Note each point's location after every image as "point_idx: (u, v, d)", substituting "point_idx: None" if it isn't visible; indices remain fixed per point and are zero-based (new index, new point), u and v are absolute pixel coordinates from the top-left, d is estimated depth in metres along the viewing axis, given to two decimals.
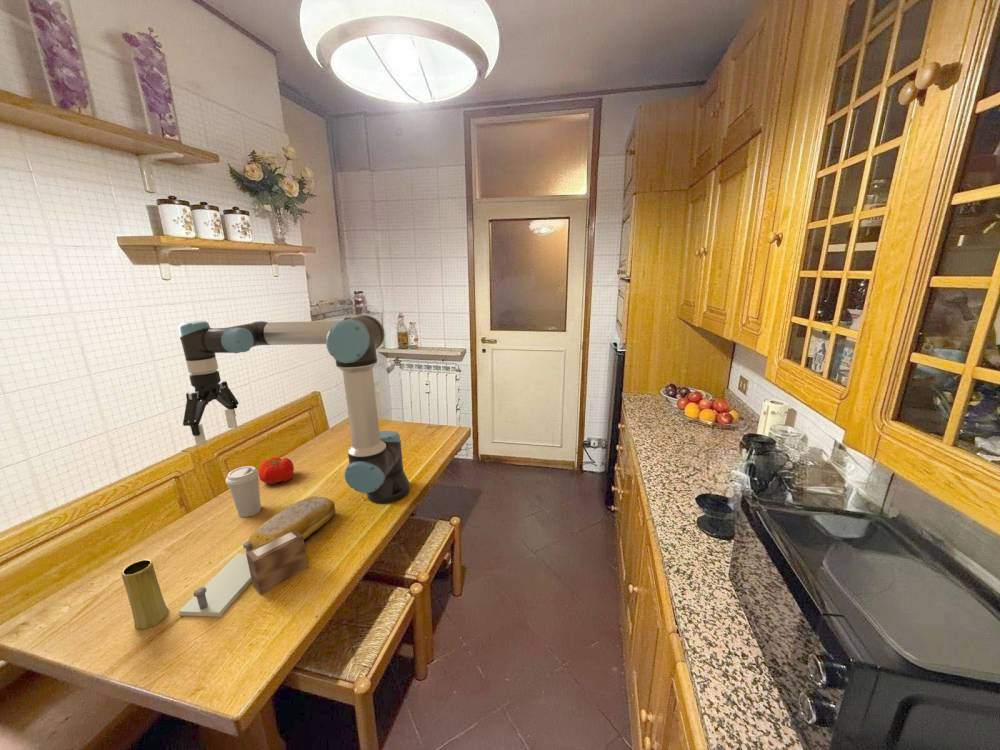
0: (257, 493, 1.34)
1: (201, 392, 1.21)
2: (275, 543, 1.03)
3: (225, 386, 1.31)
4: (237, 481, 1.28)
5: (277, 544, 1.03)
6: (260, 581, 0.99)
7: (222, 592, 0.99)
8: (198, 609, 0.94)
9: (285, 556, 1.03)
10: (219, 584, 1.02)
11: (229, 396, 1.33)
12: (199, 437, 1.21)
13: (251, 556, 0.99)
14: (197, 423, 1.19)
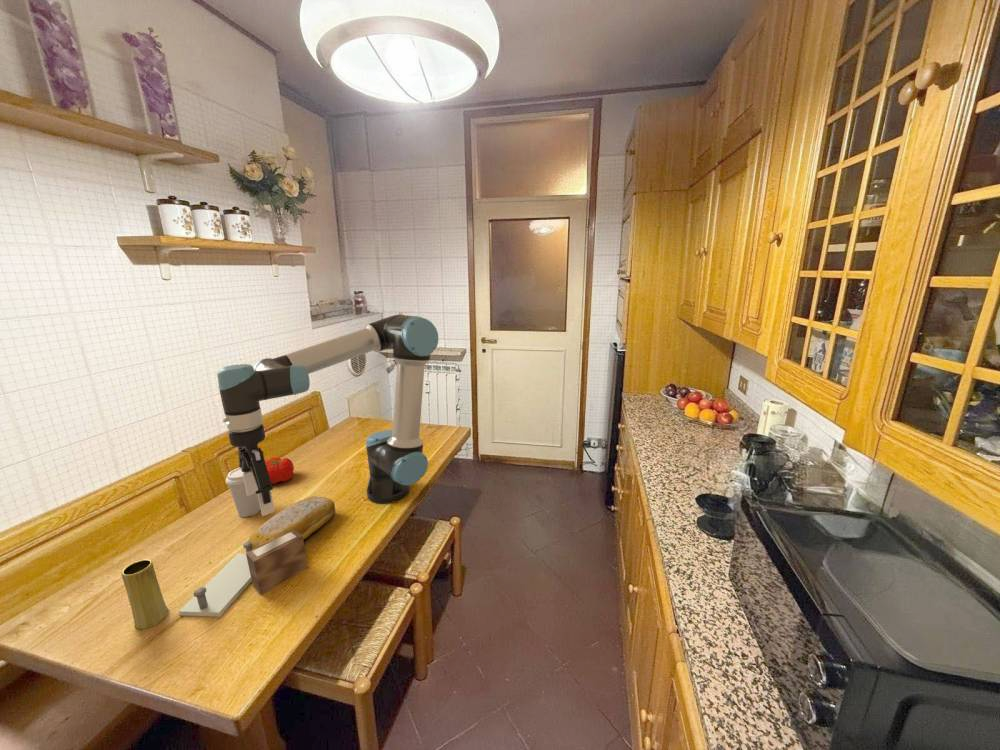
0: None
1: (258, 450, 0.99)
2: (275, 543, 1.03)
3: None
4: (237, 481, 1.28)
5: (277, 544, 1.03)
6: (260, 581, 0.99)
7: (222, 592, 0.99)
8: (198, 609, 0.94)
9: (285, 556, 1.03)
10: (219, 584, 1.02)
11: None
12: (268, 504, 0.99)
13: (251, 556, 0.99)
14: None
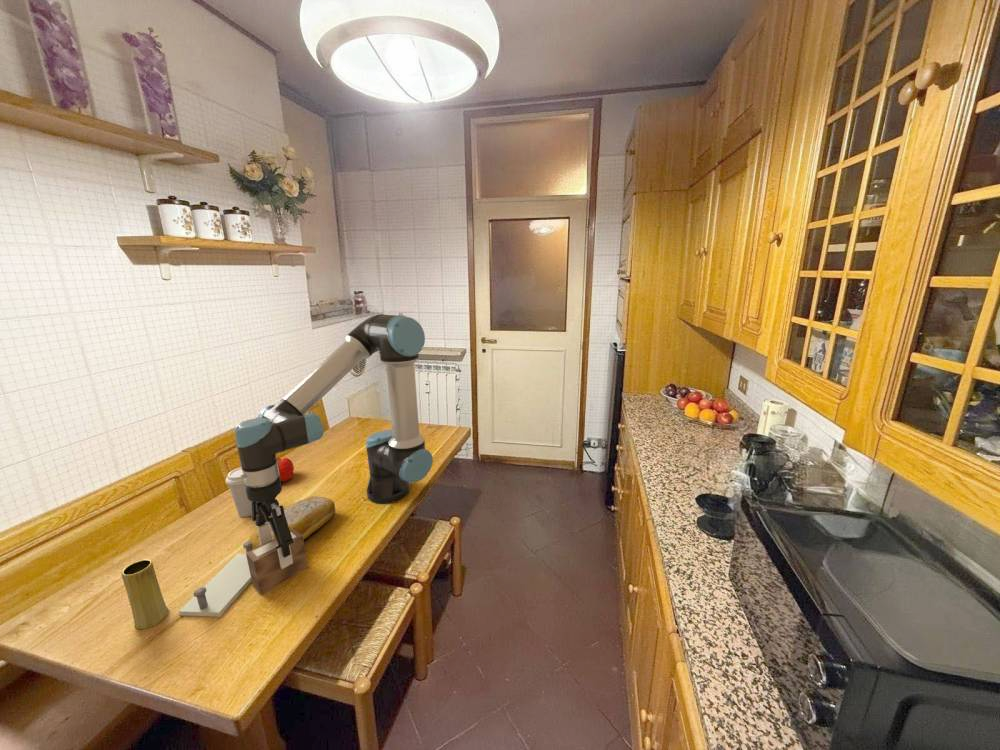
0: None
1: (277, 503, 0.99)
2: (275, 543, 1.03)
3: None
4: (237, 481, 1.28)
5: (277, 544, 1.03)
6: (260, 581, 0.99)
7: (222, 592, 0.99)
8: (198, 609, 0.94)
9: None
10: (219, 584, 1.02)
11: None
12: (287, 557, 1.00)
13: (251, 556, 0.99)
14: None
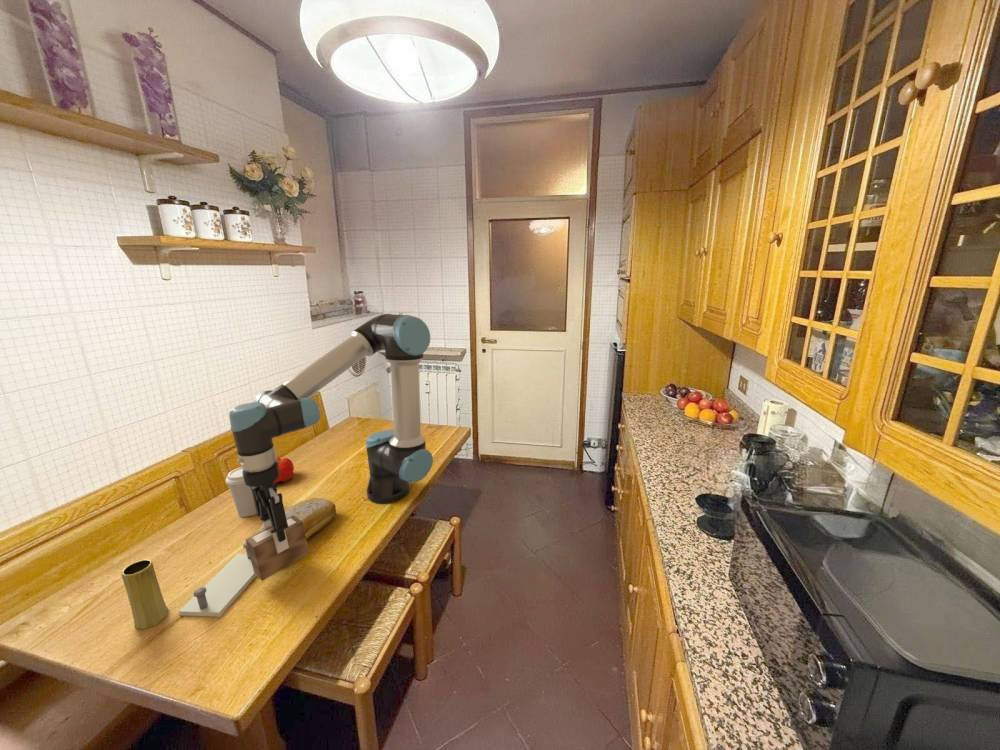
0: None
1: (275, 489, 0.98)
2: None
3: None
4: (237, 481, 1.28)
5: None
6: (261, 567, 0.99)
7: (222, 592, 0.99)
8: (198, 609, 0.94)
9: None
10: (219, 584, 1.02)
11: None
12: (282, 542, 1.02)
13: (251, 542, 0.99)
14: None
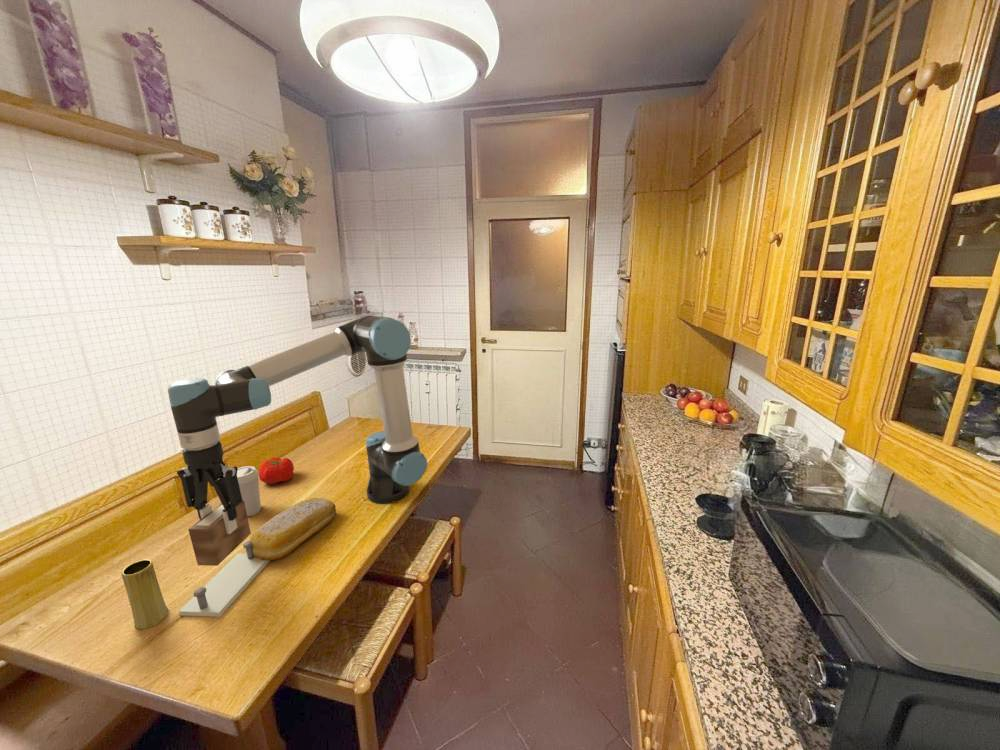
0: (257, 493, 1.34)
1: None
2: (217, 512, 0.99)
3: None
4: None
5: (221, 512, 0.99)
6: (216, 550, 0.95)
7: (222, 592, 0.99)
8: (198, 609, 0.94)
9: None
10: (219, 584, 1.02)
11: (194, 487, 0.98)
12: (232, 521, 0.99)
13: (199, 528, 0.93)
14: None
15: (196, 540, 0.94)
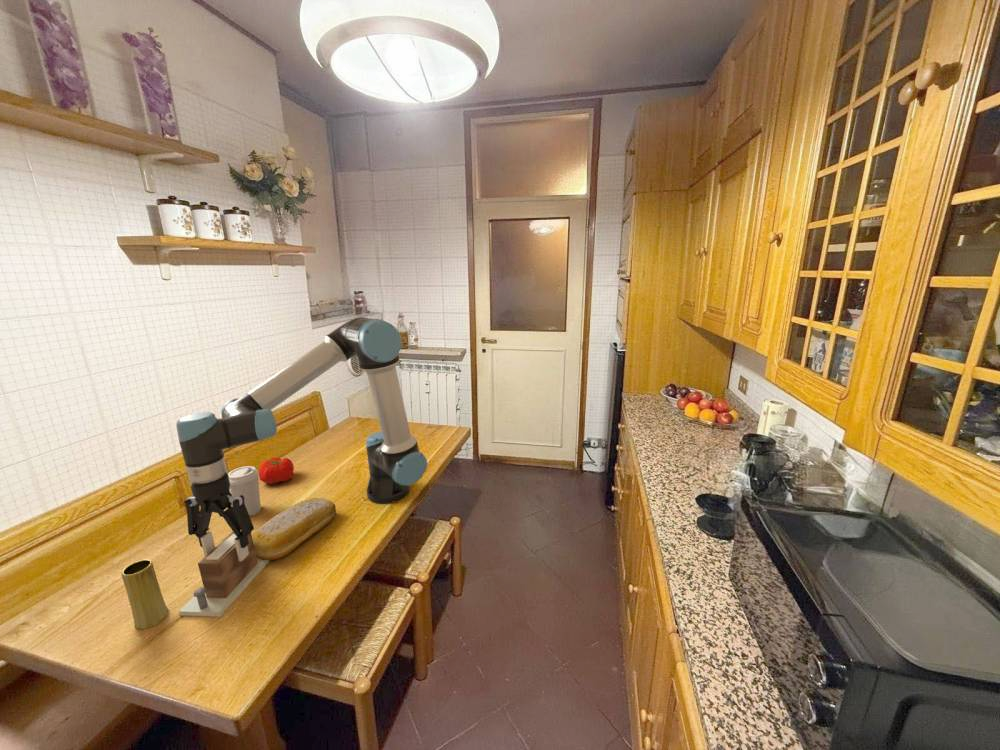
0: (257, 493, 1.34)
1: None
2: (225, 545, 1.01)
3: None
4: (237, 481, 1.28)
5: (229, 545, 1.01)
6: (224, 583, 0.97)
7: None
8: (198, 609, 0.94)
9: None
10: None
11: (198, 516, 1.00)
12: (244, 548, 1.01)
13: (209, 562, 0.96)
14: None
15: (205, 574, 0.96)
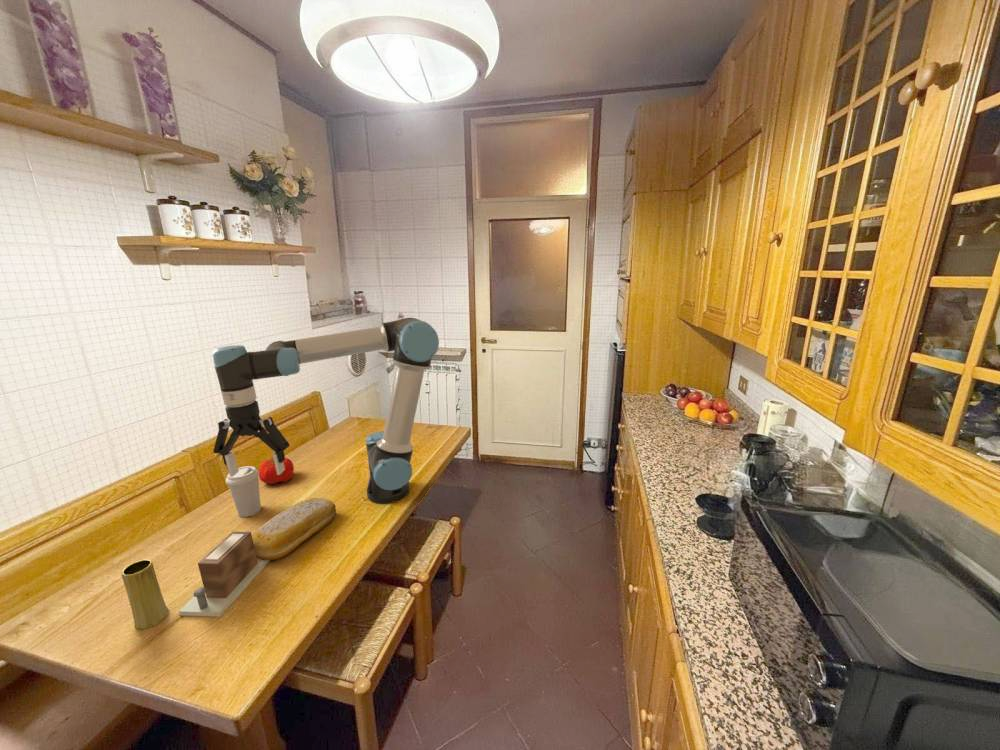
0: (257, 493, 1.34)
1: None
2: (225, 545, 1.01)
3: None
4: (237, 481, 1.28)
5: (229, 545, 1.01)
6: (224, 583, 0.97)
7: None
8: (198, 609, 0.94)
9: (240, 554, 1.03)
10: None
11: (225, 438, 1.12)
12: (281, 464, 1.13)
13: (209, 562, 0.96)
14: None
15: (205, 574, 0.96)
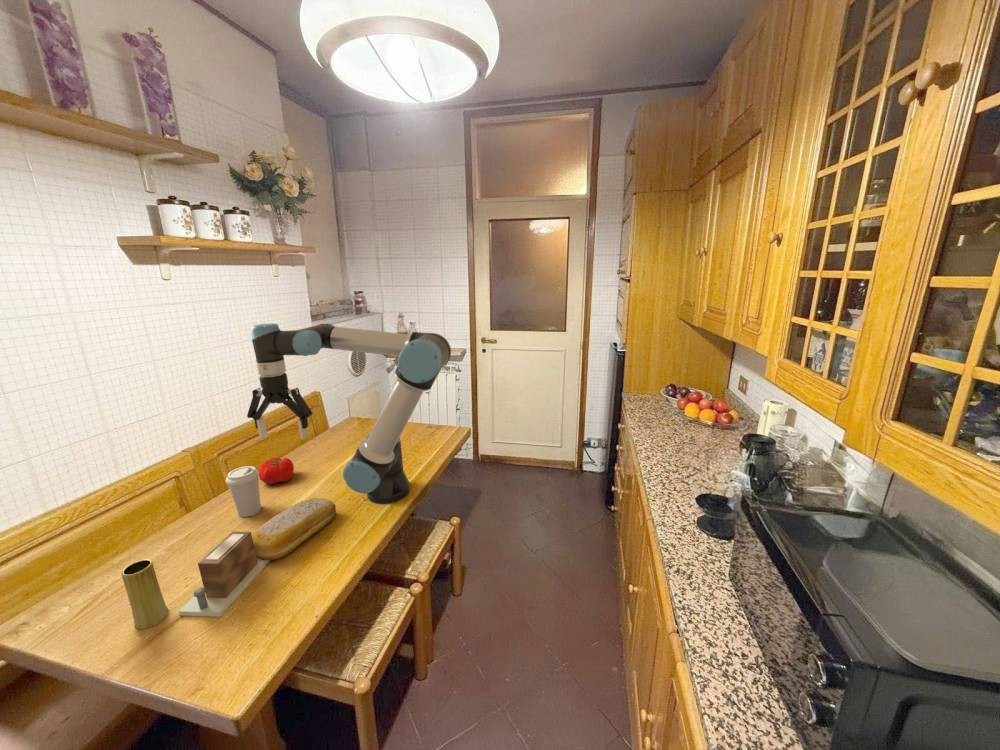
0: (257, 493, 1.34)
1: None
2: (225, 545, 1.01)
3: None
4: (237, 481, 1.28)
5: (229, 545, 1.01)
6: (224, 583, 0.97)
7: None
8: (198, 609, 0.94)
9: (240, 554, 1.03)
10: None
11: (257, 405, 1.27)
12: (304, 430, 1.28)
13: (209, 562, 0.96)
14: None
15: (205, 574, 0.96)
